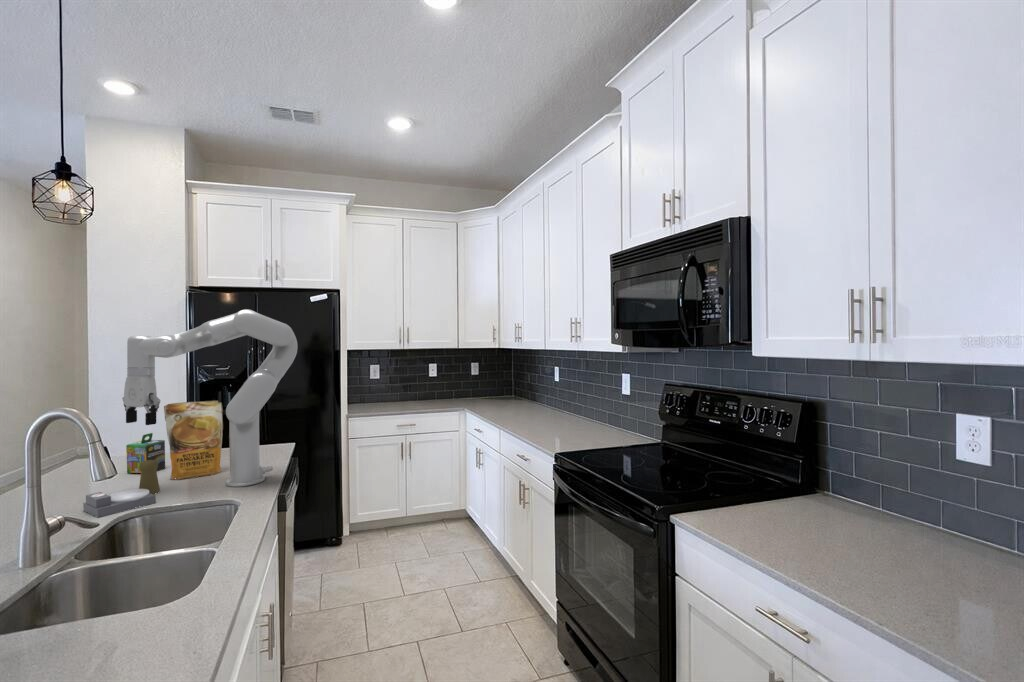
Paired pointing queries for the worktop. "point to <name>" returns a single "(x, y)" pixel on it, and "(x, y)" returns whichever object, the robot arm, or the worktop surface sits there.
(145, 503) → the kitchen scale
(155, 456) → the chalk box
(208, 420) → the pancake mix bag
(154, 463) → the cork
